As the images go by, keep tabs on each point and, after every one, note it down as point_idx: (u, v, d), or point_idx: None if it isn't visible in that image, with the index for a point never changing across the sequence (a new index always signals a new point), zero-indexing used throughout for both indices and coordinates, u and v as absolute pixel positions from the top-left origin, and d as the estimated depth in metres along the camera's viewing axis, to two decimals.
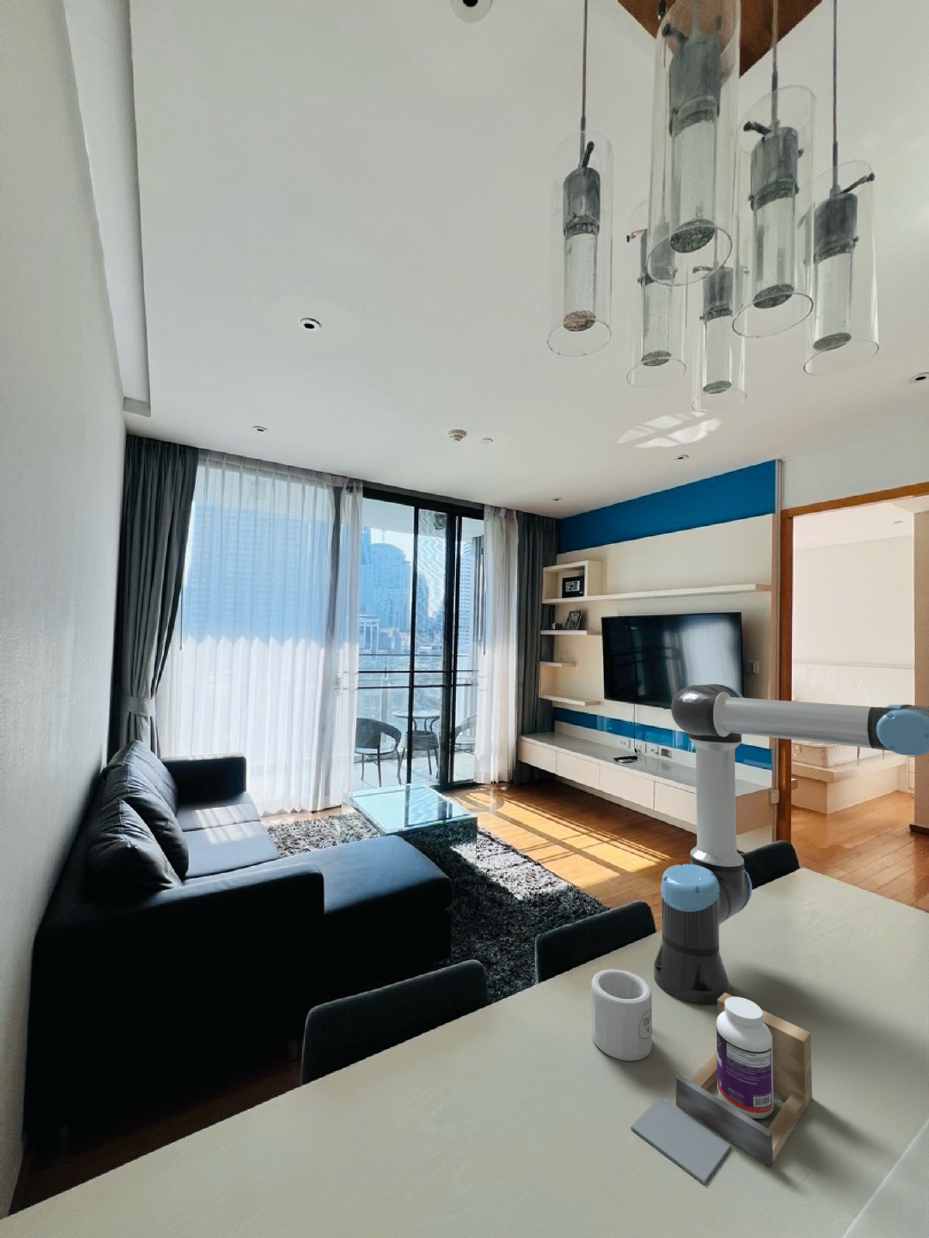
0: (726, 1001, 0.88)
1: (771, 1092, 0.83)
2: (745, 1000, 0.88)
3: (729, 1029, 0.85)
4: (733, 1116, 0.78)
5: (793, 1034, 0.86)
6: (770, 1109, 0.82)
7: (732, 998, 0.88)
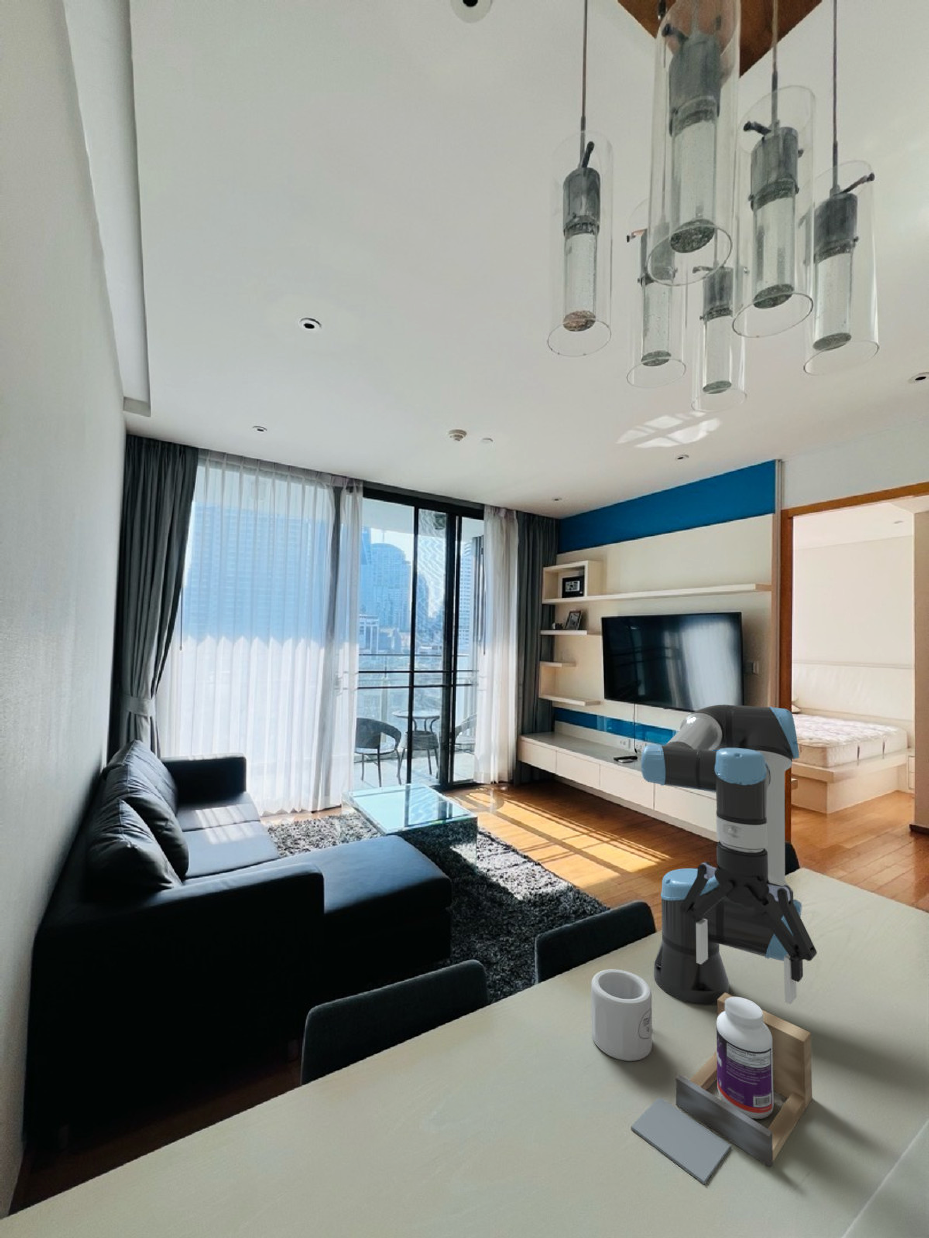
0: (726, 1001, 0.88)
1: (771, 1092, 0.83)
2: (745, 1000, 0.88)
3: (729, 1029, 0.85)
4: (733, 1116, 0.78)
5: (793, 1034, 0.86)
6: (770, 1109, 0.82)
7: (732, 998, 0.88)
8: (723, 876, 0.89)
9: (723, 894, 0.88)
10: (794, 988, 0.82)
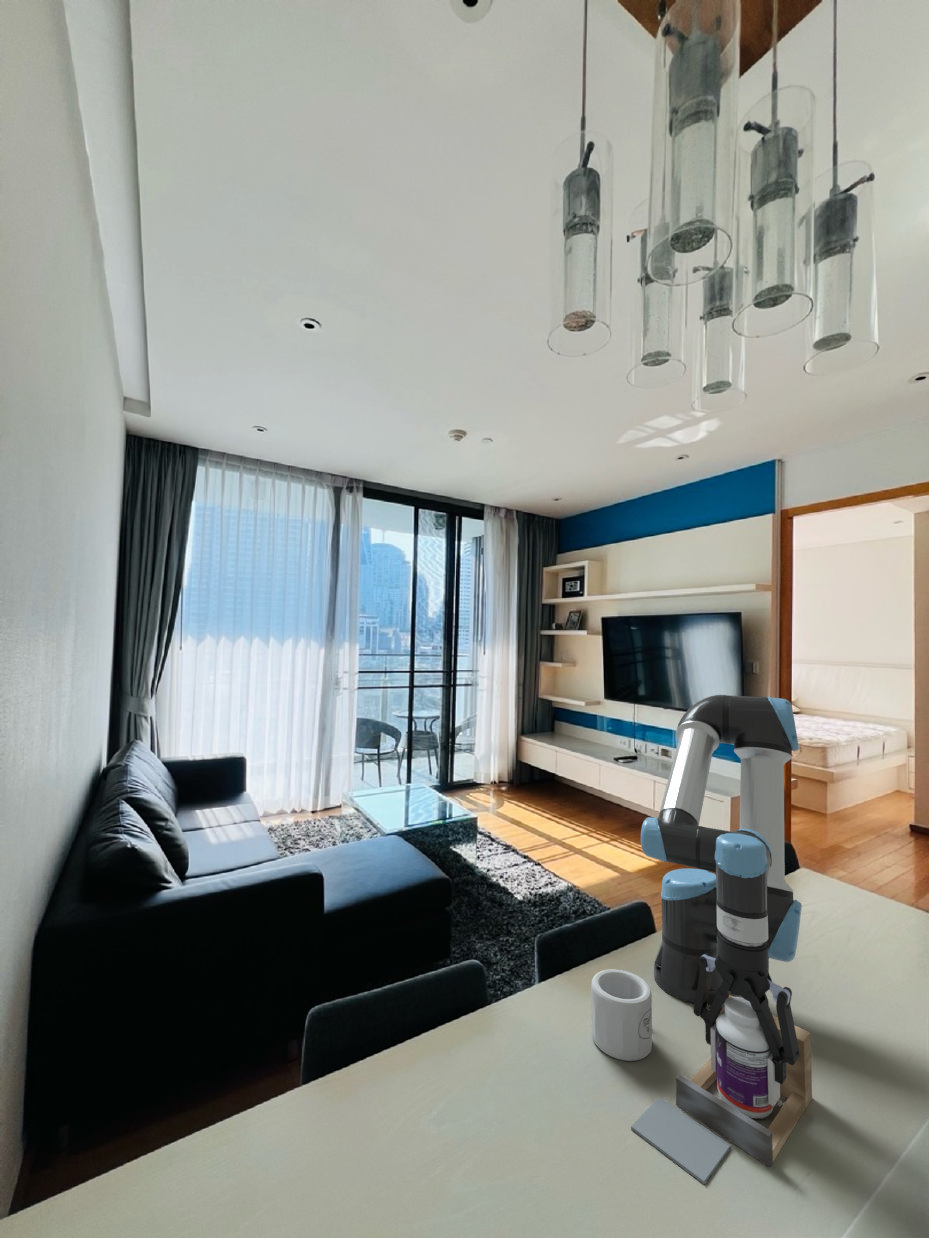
0: (726, 1001, 0.88)
1: None
2: (745, 1000, 0.88)
3: (729, 1029, 0.85)
4: (733, 1116, 0.78)
5: None
6: (770, 1109, 0.82)
7: (732, 998, 0.88)
8: (723, 965, 0.88)
9: (727, 988, 0.87)
10: (778, 1089, 0.82)
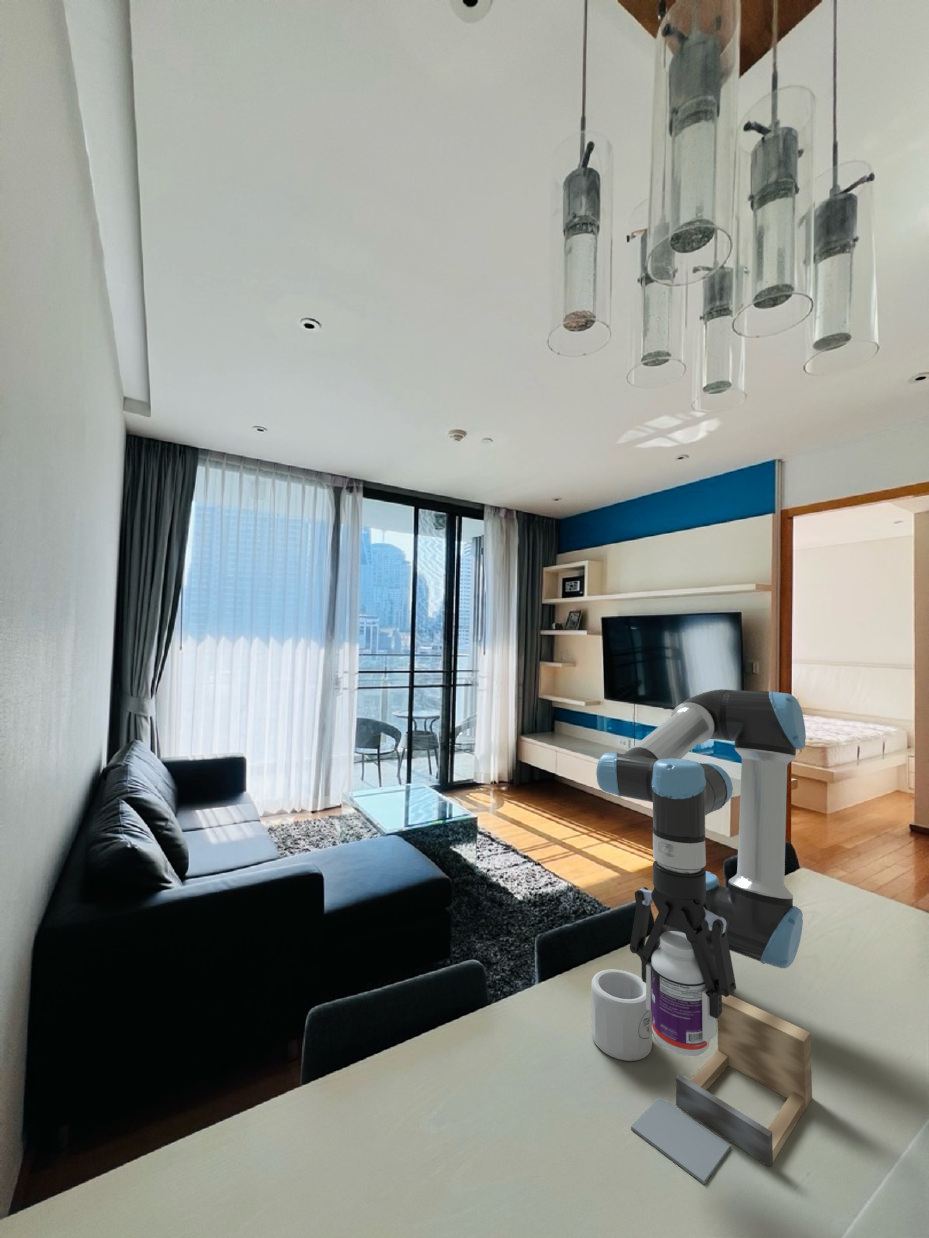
0: (662, 935, 0.82)
1: None
2: (683, 934, 0.82)
3: (663, 962, 0.79)
4: (733, 1116, 0.78)
5: (793, 1034, 0.86)
6: (705, 1046, 0.76)
7: (669, 932, 0.83)
8: (659, 897, 0.82)
9: (662, 920, 0.81)
10: (713, 1025, 0.77)
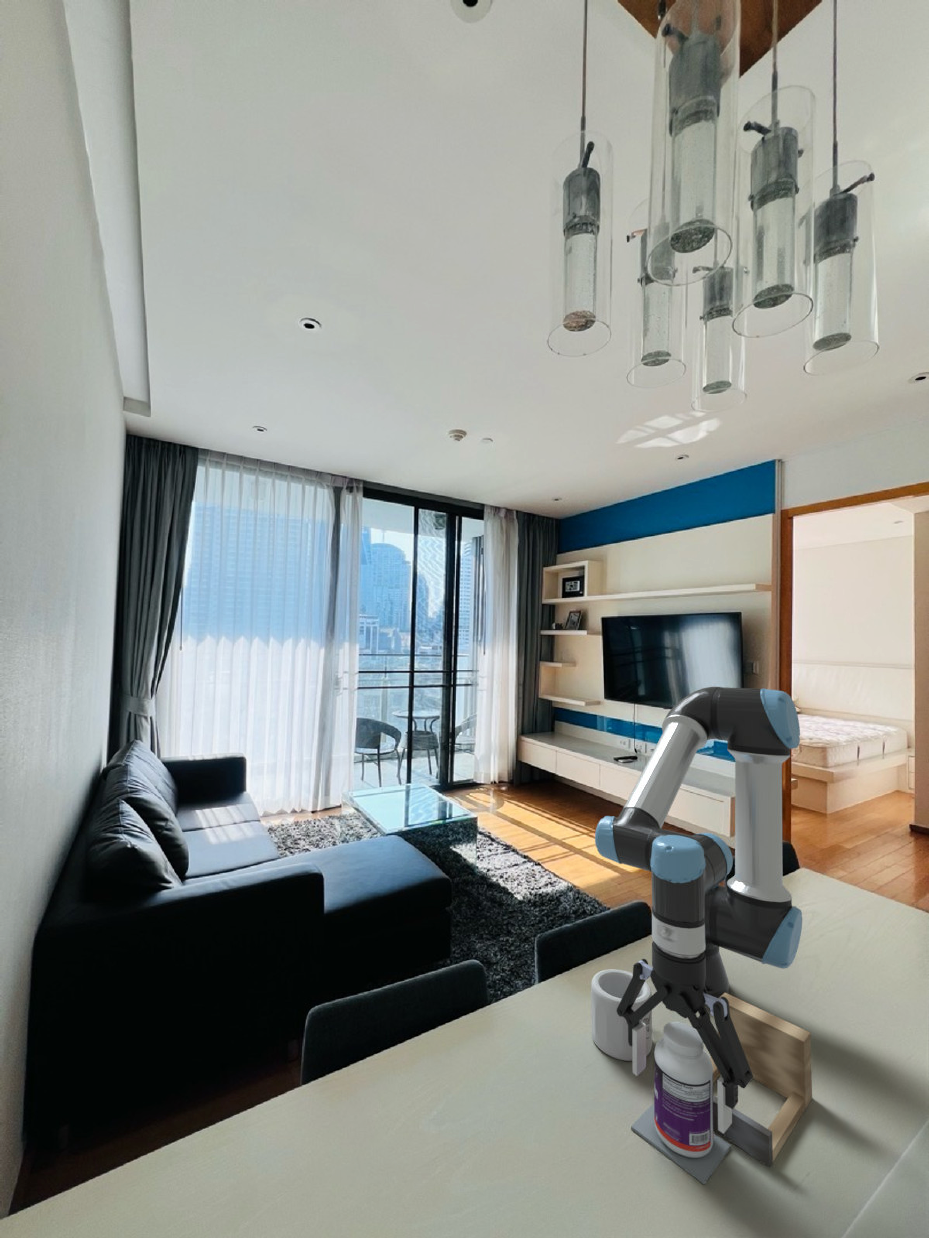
0: (665, 1027, 0.80)
1: (710, 1128, 0.75)
2: (686, 1026, 0.81)
3: (666, 1058, 0.77)
4: (733, 1116, 0.78)
5: (793, 1034, 0.86)
6: (708, 1147, 0.75)
7: (672, 1023, 0.81)
8: (658, 979, 0.81)
9: (658, 1000, 0.80)
10: (729, 1114, 0.74)
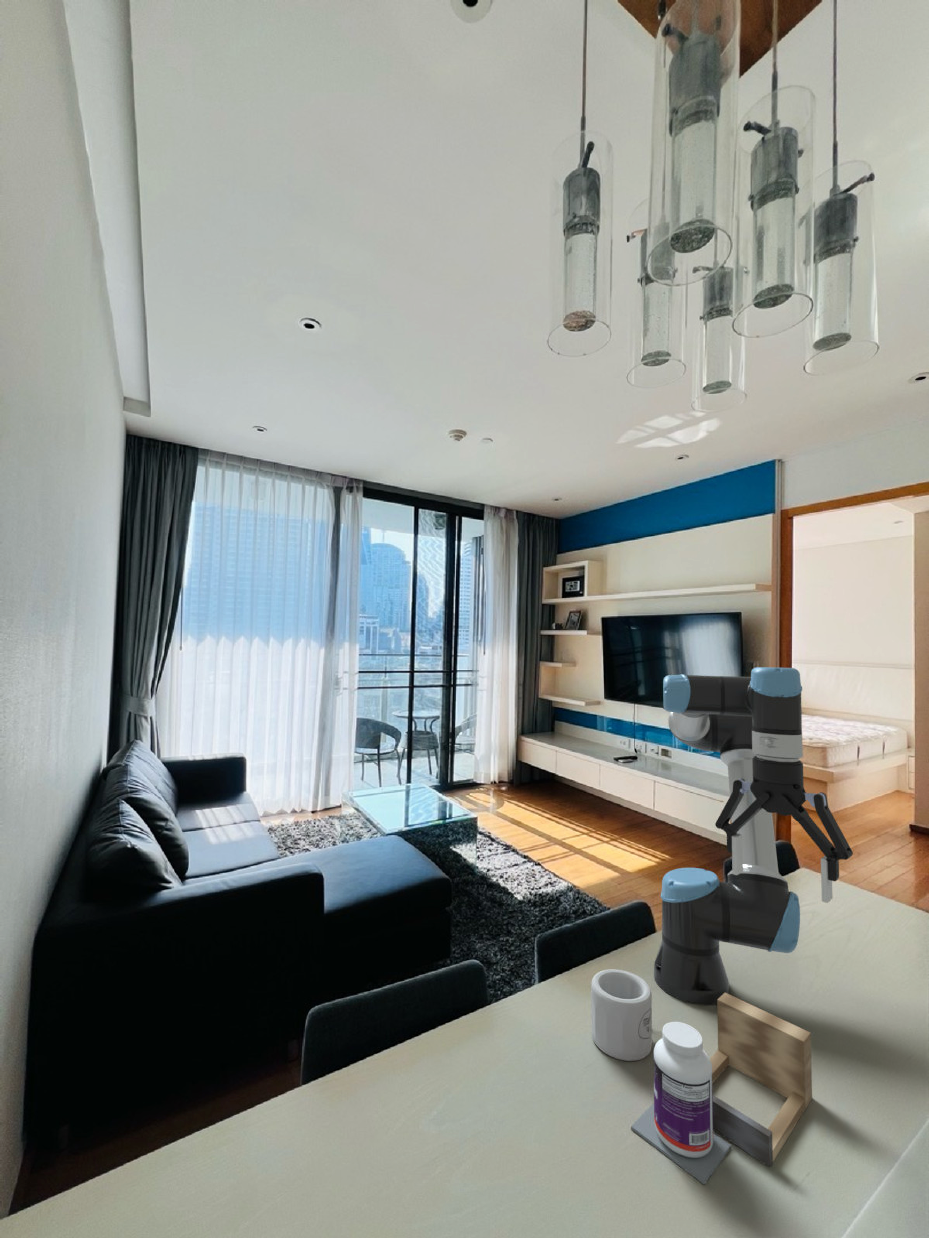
0: (664, 1027, 0.81)
1: (710, 1128, 0.75)
2: (685, 1026, 0.81)
3: (665, 1058, 0.77)
4: (733, 1116, 0.78)
5: (793, 1034, 0.86)
6: (708, 1147, 0.75)
7: (672, 1023, 0.81)
8: (759, 788, 0.92)
9: (759, 805, 0.91)
10: (830, 889, 0.85)
